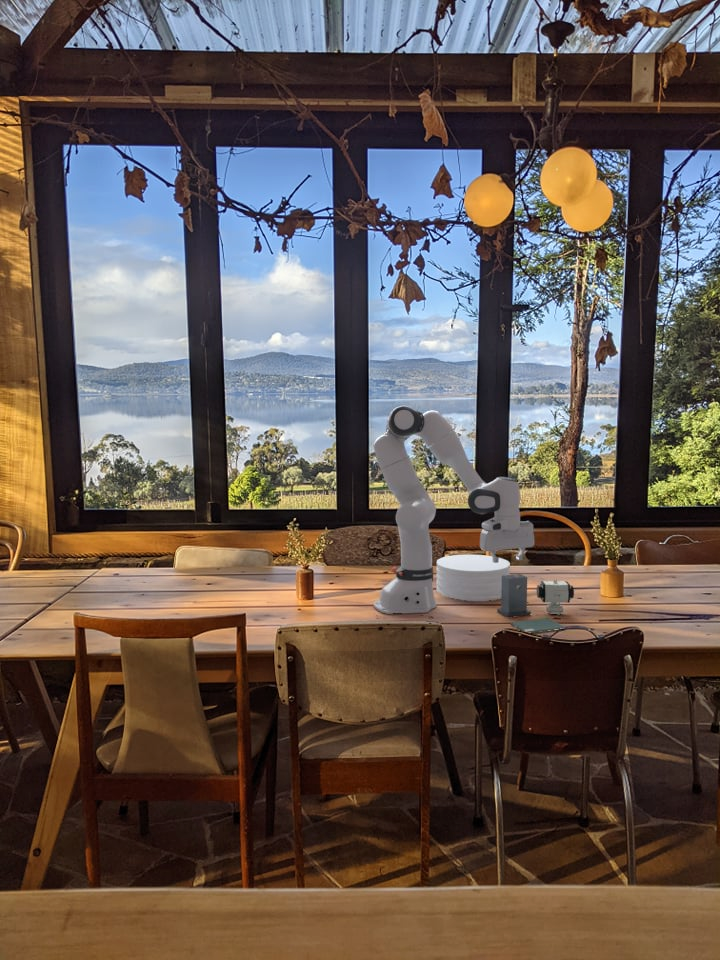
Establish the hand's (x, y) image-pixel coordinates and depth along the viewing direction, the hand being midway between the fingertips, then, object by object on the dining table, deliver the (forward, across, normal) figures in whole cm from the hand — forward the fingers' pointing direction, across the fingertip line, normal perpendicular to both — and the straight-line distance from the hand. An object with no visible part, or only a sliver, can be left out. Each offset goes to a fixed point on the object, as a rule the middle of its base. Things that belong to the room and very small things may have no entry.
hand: (507, 561), depth 241 cm
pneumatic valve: (+17, -10, +14) cm, 24 cm away
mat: (+17, +3, +24) cm, 29 cm away
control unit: (+16, +3, +9) cm, 19 cm away
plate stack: (+16, +2, -22) cm, 28 cm away
